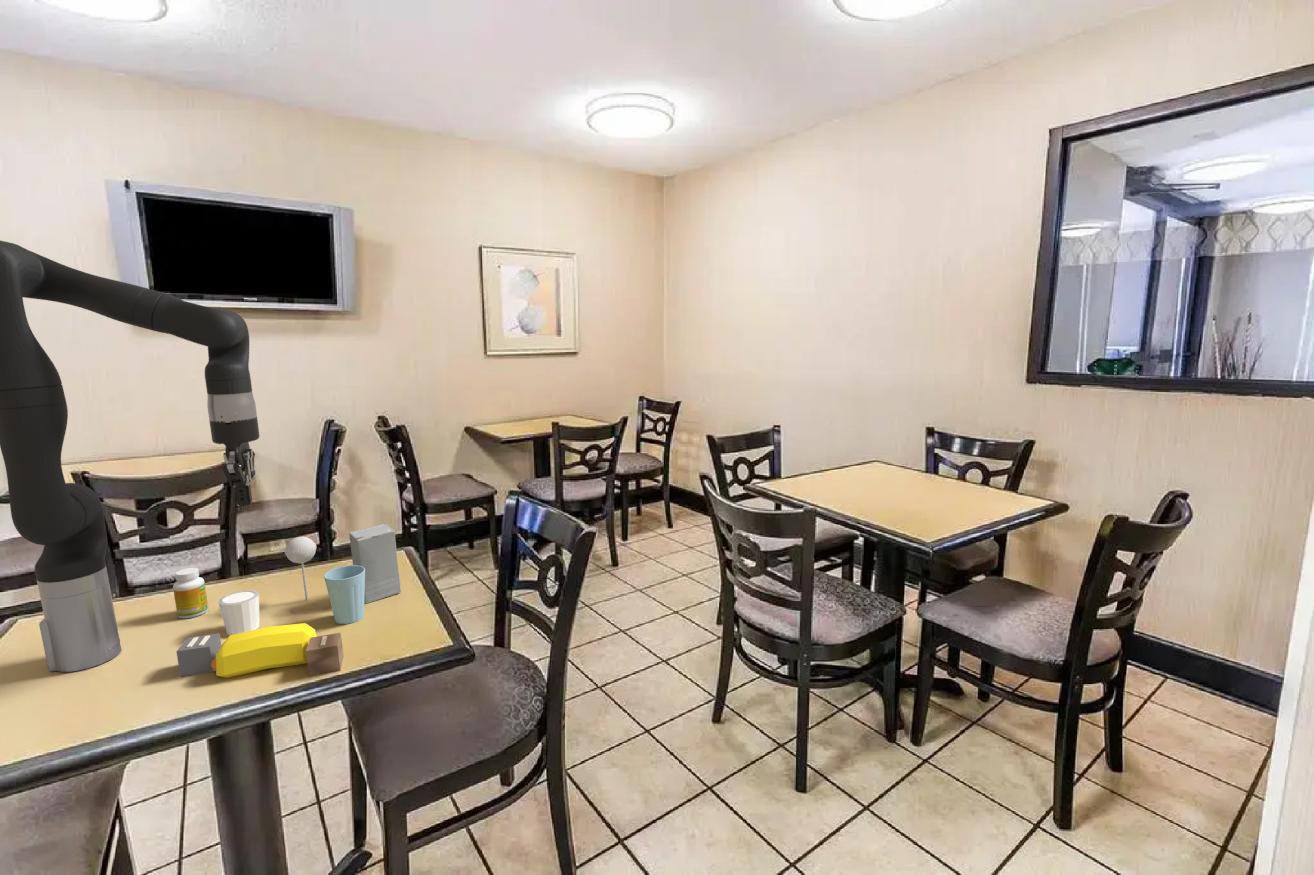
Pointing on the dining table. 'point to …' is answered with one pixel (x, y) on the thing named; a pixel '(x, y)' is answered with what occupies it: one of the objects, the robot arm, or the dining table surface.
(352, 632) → the dining table surface
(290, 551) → the lollipop
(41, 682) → the dining table surface
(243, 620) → the shot glass
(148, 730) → the dining table surface
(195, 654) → the charcoal numbered block
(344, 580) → the cup
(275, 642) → the yellow banana
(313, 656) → the walnut numbered block
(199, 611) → the supplement bottle
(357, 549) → the skincare box
